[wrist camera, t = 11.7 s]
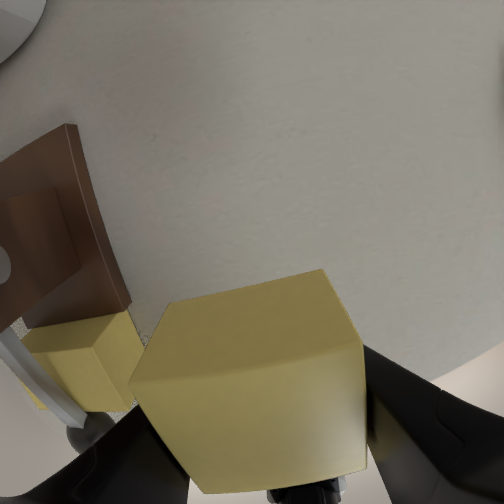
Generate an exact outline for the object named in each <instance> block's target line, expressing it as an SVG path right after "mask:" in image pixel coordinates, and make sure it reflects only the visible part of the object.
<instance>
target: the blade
mask: <svg viewBox="0 0 504 504" xmlns="http://www.w3.org/2000/svg"><path fill="white" fill-rule="evenodd" d="M0 357H1V358H2V360H3V361H4V362H5V363H6V364H7V365H8V367H9V368H10V369H11V370H12V371H13V372H14V373H15V375H16V376H17V377H18V378H19V379H20V380H21V381H22V382H23V383H24V384H25V385H26V387H27V388H28V389H29V390H30V391H31V392H32V393H33V394H34V395H35V396H36V397H37V398H38V399H39V400H40V401H41V402H42V403H43V404H44V405H45V406H46V407H47V408H48V409H49V410H51V411H52V412H53V413H54V414H55V415H56V416H57V417H58V418H59V419H60V420H61V421H63V422H64V423H65V424H66V425H67V437H68V440H69V442H70V444H71V446H72V447H73V448H74V449H75V450H76V451H77V452H78V453H79V454H82V453H83V452H84V451H85V450H86V449H88V448H89V447H90V446H92V445H93V443H95V442H96V441H97V440H98V439H99V438H100V437H101V436H103V435H104V434H105V433H106V432H107V431H108V430H110V429H111V428H112V427H113V426H114V425H115V424H116V423H115V422H114V420H113V419H112V418H111V417H110V416H109V415H108V414H106V413H105V412H85V411H83V410H82V409H81V408H80V407H79V406H78V405H77V404H76V403H75V402H74V401H73V400H72V399H71V398H70V397H69V396H68V395H67V394H66V393H65V392H64V391H63V390H62V389H61V387H60V386H59V385H58V384H57V383H56V382H55V381H54V380H53V379H52V378H51V377H50V375H49V374H48V373H47V372H46V371H45V370H44V369H43V367H42V366H41V365H40V364H39V363H38V362H37V360H36V359H35V358H34V357H33V356H32V354H31V353H30V352H29V351H28V349H27V348H26V347H25V346H24V344H23V343H22V342H21V340H20V339H19V338H18V337H17V335H16V334H15V333H14V331H13V330H12V328H11V327H10V326H9V327H8V328H6V329H5V330H4V331H3V332H2V333H1V334H0Z"/></svg>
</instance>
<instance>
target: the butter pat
mask: <svg viewBox="0 0 504 504" xmlns="http://www.w3.org/2000/svg"><path fill="white" fill-rule="evenodd" d="M128 387H129V389H130V391H131V392H132V394H133V396H134V397H135V399H136V401H137V402H138V404H139V405H140V407H141V409H142V410H143V412H144V413H145V415H146V416H147V418H148V419H149V421H150V423H151V424H152V426H153V427H154V429H155V430H156V431H157V433H158V434H159V436H160V437H161V439H162V440H163V442H164V443H165V444H166V446H167V447H168V449H169V450H170V451H171V453H172V454H173V456H174V457H175V458H176V460H177V461H178V462H179V464H180V465H181V466H182V467H183V469H184V470H185V471H186V473H187V474H188V475H189V476H190V478H191V479H192V480H193V481H194V483H195V484H196V485H197V486H198V488H199V489H200V490H201V491H202V492H203V493H204V494H221V493H238V492H249V491H260V490H268V489H276V488H283V487H289V486H296V485H301V484H307V483H312V482H317V481H322V480H326V479H331V478H335V477H339V476H343V475H347V474H351V473H355V472H359V471H362V470H365V469H366V468H367V401H366V379H365V363H364V349H363V342H362V340H361V338H360V336H359V334H358V332H357V330H356V328H355V326H354V325H353V323H352V321H351V319H350V317H349V315H348V313H347V311H346V310H345V308H344V306H343V304H342V302H341V300H340V299H339V297H338V295H337V293H336V291H335V289H334V288H333V286H332V284H331V282H330V280H329V279H328V277H327V275H326V273H325V272H324V270H323V269H318V270H314V271H310V272H306V273H302V274H298V275H294V276H290V277H285V278H281V279H277V280H273V281H269V282H264V283H260V284H256V285H251V286H247V287H243V288H238V289H234V290H229V291H225V292H220V293H216V294H211V295H207V296H202V297H197V298H193V299H188V300H183V301H179V302H174V303H170V304H168V306H167V308H166V310H165V312H164V314H163V316H162V318H161V319H160V321H159V323H158V325H157V327H156V329H155V331H154V333H153V335H152V337H151V338H150V340H149V342H148V344H147V346H146V348H145V350H144V352H143V354H142V356H141V358H140V360H139V362H138V364H137V366H136V368H135V370H134V372H133V374H132V376H131V378H130V380H129V382H128Z"/></svg>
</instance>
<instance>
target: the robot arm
mask: <svg viewBox="0 0 504 504" xmlns="http://www.w3.org/2000/svg"><path fill="white" fill-rule="evenodd" d="M363 349H364V363H365V379H366V401H367V444H368V446H369V448H370V451H371V453H372V456H373V458H374V460H375V463H376V465H377V468H378V470H379V472H380V475H381V477H382V480H383V482H384V484H385V487H386V489H387V492H388V494H389V497H390V499H391V502H392V504H504V417H501V416H498V415H496V414H493V413H491V412H488V411H486V410H483V409H481V408H479V407H476V406H474V405H472V404H469V403H467V402H465V401H463V400H461V399H459V398H457V397H455V396H453V395H452V394H450V393H448V392H446V391H444V390H441V389H440V388H439V387H437V386H435V385H433V384H432V383H430V382H428V381H426V380H425V379H423V378H421V377H419V376H418V375H416V374H414V373H412V372H410V371H409V370H407V369H405V368H403V367H402V366H400V365H398V364H396V363H395V362H393V361H391V360H389V359H388V358H386V357H384V356H383V355H381V354H379V353H377V352H376V351H374V350H372V349H370V348H369V347H367V346H365V345H364V344H363ZM189 481H190V476H189V475H188V474H187V473H186V471H185V470H184V469H183V467H182V466H181V465H180V464H179V462H178V461H177V460H176V458H175V457H174V456H173V454H172V453H171V451H170V450H169V449H168V447H167V446H166V444H165V443H164V442H163V440H162V439H161V437H160V436H159V434H158V433H157V431H156V430H155V429H154V427H153V426H152V424H151V423H150V421H149V419H148V418H147V416H146V415H145V413H144V412H143V410H142V409H141V407H140V405H139V404H138V405H137V406H135V407H134V408H133V409H132V410H131V411H130V412H129V413H128V414H127V415H125V416H124V417H123V418H122V419H121V420H120V421H119V422H117V423H116V424H115V425H114V426H113V427H112V428H111V429H110V430H108V431H107V432H106V433H105V434H104V435H103V436H101V437H100V438H99V439H98V440H97V441H96V442H95V443H93V445H92V446H90V447H89V448H88V449H86V450H85V451H84V452H83V453H82V454H80V455H79V456H78V457H77V458H76V459H74V460H73V461H72V462H71V463H69V464H68V465H67V466H65V467H64V468H62V469H61V470H60V471H59V472H57V473H55V474H54V475H52V476H51V477H50V478H48V479H47V480H45V481H44V482H42V483H41V484H39V485H38V486H36V487H35V488H33V489H32V490H30V491H28V492H27V493H25V494H22V495H19V496H14V497H0V504H187V497H188V489H189ZM270 493H271V495H272V497H273V499H274V501H275V503H276V504H338V502H340V501H341V498H340V489H339V481H338V477H335V478H331V479H326V480H322V481H317V482H312V483H307V484H301V485H296V486H289V487H283V488H276V489H270Z"/></svg>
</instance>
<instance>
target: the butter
mask: <svg viewBox="0 0 504 504" xmlns="http://www.w3.org/2000/svg"><path fill="white" fill-rule="evenodd" d="M21 342H22V343H23V344H24V346H25V347H26V348H27V349H28V351H29V352H30V353H31V354H32V356H33V357H34V358H35V359H36V360H37V362H38V363H39V364H40V365H41V366H42V367H43V369H44V370H45V371H46V372H47V373H48V374H49V375H50V377H51V378H52V379H53V380H54V381H55V382H56V383H57V384H58V385H59V386H60V387H61V389H62V390H63V391H64V392H65V393H66V394H67V395H68V396H69V397H70V398H71V399H72V400H73V401H74V402H75V403H76V404H77V405H78V406H79V407H80V408H81V409H82V410H83V411H85V412H119V411H129V410H130V408H131V406H132V403H133V401H134V399H135V397H134V396H133V394H132V392H131V391H130V389H129V387H128V382H129V380H130V378H131V376H132V374H133V372H134V370H135V368H136V366H137V364H138V362H139V360H140V358H141V356H142V354H143V352H144V350H145V348H144V346H143V344H142V342H141V340H140V338H139V335H138V333H137V331H136V329H135V327H134V324H133V322H132V320H131V318H130V315H129V313H128V311H127V309H126V310H125V312H120V313H115V314H110V315H105V316H99V317H94V318H89V319H83V320H78V321H72V322H67V323H61V324H56V325H50V326H44V327H38V328H33V329H32V330H31V331H30V332H29V333H28V334H27V335H26V336H25V337H24V338H23V339H21ZM19 380H20V379H19ZM20 382H21V383H22V385H23V386H24V388H25V389H26V391H27V392H28V394H29V395H30V397H31V398H32V400H33V401H34V403H35V404H36V405H37V407H38V408H39V409H43V410H49V409H48V408H47V407H46V406H45V405H44V404H43V403H42V402H41V401H40V400H39V399H38V398H37V397H36V396H35V395H34V394H33V393H32V392H31V391H30V390H29V389H28V388H27V387H26V385H25V384H24V383H23V382H22V381H21V380H20Z"/></svg>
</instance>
